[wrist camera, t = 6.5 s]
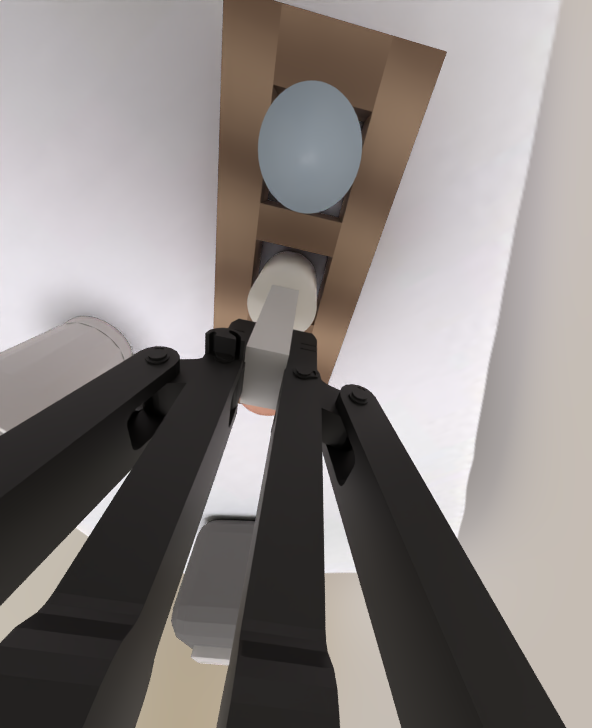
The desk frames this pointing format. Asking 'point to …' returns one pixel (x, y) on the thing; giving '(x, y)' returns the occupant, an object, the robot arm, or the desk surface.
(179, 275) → the desk surface
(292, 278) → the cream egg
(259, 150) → the light blue rounded cylinder
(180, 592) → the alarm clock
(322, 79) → the wooden peg holder
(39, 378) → the cup
